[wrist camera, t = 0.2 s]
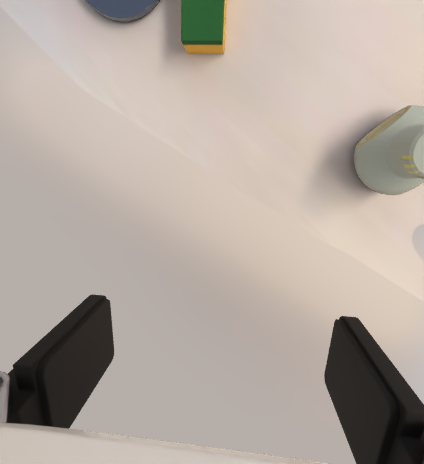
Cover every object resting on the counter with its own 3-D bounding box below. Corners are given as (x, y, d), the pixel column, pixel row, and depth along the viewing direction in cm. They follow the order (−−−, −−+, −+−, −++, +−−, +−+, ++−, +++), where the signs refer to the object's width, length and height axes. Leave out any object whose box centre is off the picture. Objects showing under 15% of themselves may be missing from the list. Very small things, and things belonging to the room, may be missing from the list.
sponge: (188, -19, 33) (181, -42, 29) (227, -20, 32) (225, -43, 29) (187, 53, 35) (181, 40, 31) (224, 53, 35) (222, 40, 31)
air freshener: (407, 99, 34) (473, 76, 24) (441, 148, 35) (517, 144, 25) (336, 157, 37) (370, 156, 27) (369, 200, 38) (413, 214, 28)
